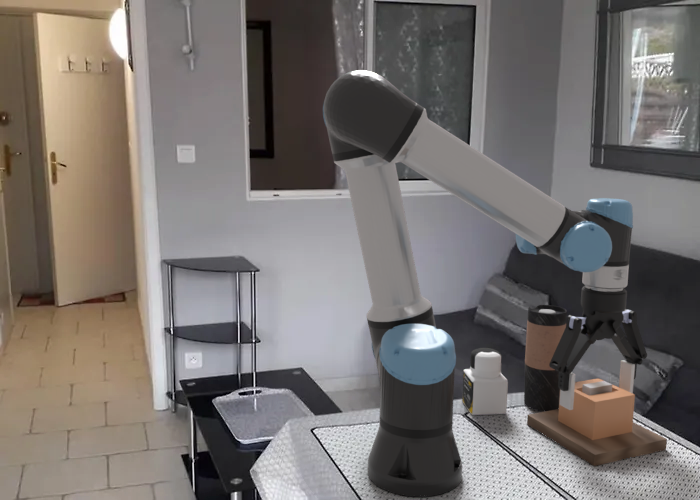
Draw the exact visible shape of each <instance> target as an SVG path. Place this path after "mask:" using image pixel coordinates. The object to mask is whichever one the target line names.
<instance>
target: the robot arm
mask: <svg viewBox="0 0 700 500" xmlns="http://www.w3.org/2000/svg"><path fill="white" fill-rule="evenodd" d="M322 116H323V121H324V124H325V125H324V126H325V127H326V130H327V135H328V139H329V145H330V149H331V154H332V158H333V163H334V164H336V165H337V166H338V167H340V168H341V169H342V170H343V171H344V173H345V177H346V182H347V186H348V187H347V188H348V191H349V197H350V201H351V205H352V206H351V207H352V211H353V214H354V215H353V216H354V219H355V220H354V221H355V225H356V230H357V234H358V239H359V244H360V248H361V253H362V259H363V264H364V268H365V273H366V277H367V283H368V288H369V292H370V298H371V303H372V305H371V307H370V308H369V310H368V312H367V313H366V320H367V324H368V325H367V326H368V329H369V334H370V340H371V349H372V353H373V357H374V359H375V363H376V367H377V372H378V376H379V427H378V430H377V432H376V435H375V438H374V440H373V444H372V447H371V449H370V453H369V455H368V458H367V459H368V460H367V474H368V478H369V479H370V481H371V482H373V484H374V485H376V486H377V487H378V488H381V489H382V490H385V491H387V492H390V493H392V494H397V495H401V496H406V497H421V498H423V497H433V496H438V495H443V494H446V493H448V492H450V491H453V490H454V489H456V487H457V486H459V485H460V483H461V482H462V479H463V476H462V475H463V462H462V459H461V456H460V452H459V449H458V446H457V445H458V444H457V442H456V439H455V438H456V437H455V435H454V431H453V425H454V423H453V422H454V421H453V420H454V394H455V368H456V365H457V364H456V363H457V354H456V349H455V348H456V347H455V346H456V345H455V342H454V339H453V338H452V336H451V335H450V334H449V333H447V332H446V331H445V330H443V329H441V328H437V325H436V320H435V315H434V310H433V306H432V305H433V304H432V302H431V301H430V300H429V299H427V298H426V297H425V296H423V295H422V294H421V289H420V285H419V284H420V283H419V279H418V273H417V267H416V263H415V257H414V254H413V253H414V252H413V247H412V243H411V238H410V233H409V232H410V231H409V226H408V221H407V217H406V212H405V208H404V201H403V196H402V192H401V186H400V180H399V176H398V171H397V165H396V164H397V163H402V164H403V165H405V166H406V167H407V168H409V169H411V170H412V171H414V172H416V173H418V174H419V175H421V176H423V178H425V179H427V180H428V181H430V182H433V183H434V184H435V185H437V186H439V187H440V188H441V189H443V190H445V191H446V192H447V193H450V194H451V195H452V196H455V197H456V198H458V199H459V200H461V201H462V202H464V203H466V204H467V205H469V206H471V207H473V208H474V209H476V210H477V211H478V212H480V213H481V214H484V215H485V216H487V217H489V218H490V219H491V220H493V221H495V222H497V223H498V224H500V225H501V226H502V227H505V228H506V229H508V230H509V231H511V232H512V233H514V234H515V241H516V243H515V244H516V247H517V249H518V251H520V253H522V254H529V255H531V254H532V255H536V256H537V255H547V256H548V257H550V258H552V259H554V260H556V261H558V262H559V263H561V264H563V265H564V266H565V267H567V268H569V269H570V270H573V271H576V272H580V273H582V278H581V279H582V280H581V281H582V284H583V285H584V286H582V288H581V293H580V294H581V297H580V305H581V308H582V315H581V316H574V315H572V314H569V315H567V321H566V328H565V330H564V333H563V335H562V337H561V339H560V341H559V344H558V346H557V348H556V350H555V352H554V355H553V357H552V359H551V361H550V364H549V366H550V368H552V369H554V370H557V371H558V372H559V378H558V388H559V389H560V404H559V405H561V406H563V407H565V408H567V409H568V410H573V403H574V388H575V382H576V373H574V372H573V370H574V369H576V366H577V365H578V364H579V362H580V361H581V359H582V358H583V357H584V355H585V353H586V352H587V350H588V349H589V347H591V345H593V344H595V343H596V341H602V340H605V339H608V340H610V339H611V340H612V342H613V343H614V345H615V346H616V348H617V349H618V350H619V352H620V353H621V355H622V357H623V358H624V359H625V360H624V359H623V360H620V366H619V379H618V387H619V388H621V389H623V390H626V391H628V392H630V393H632V394H634V393H633V392H634V382H635V380H636V378H637V368H638V367H637V366H641V365H642V364H643V362H644V361H643V360H646V359H647V357H648V352H647V350H646V347H645V344H644V341H643V338H642V334H641V331H640V329H639V326H638V322H637V321H638V313H637V312H636V311H634V310H631V309H627V297H628V291H627V290H626V289H625V288H626V287H627V286H628V284H629V283H628V282H629V281H628V280H629V271H630V270H629V267H630V253H631V244H632V232H633V229H634V225H633V223H634V221H633V220H634V218H633V217H634V211H633V205H632V202H630V201H629V200H626V199H621V198H611V197H610V198H609V197H599V198H595V197H594V198H590V199H589V200H588V201H587V203H586V207H585V209H581V210H571V208H570V209H569V208H568V207H566V206H565V205H564V204H562V203H560V202H559V201H558V200H556V199H554V198H553V197H551V196H549V195H548V194H546V193H545V192H543V191H542V190H541V189H538V188H537V187H536V186H534V185H532V184H531V183H529V182H528V181H526V180H525V179H523V178H521V177H520V176H518V175H517V174H515V173H514V172H512V171H511V170H509V169H507V168H506V167H504V166H503V165H501V164H500V163H499V162H496V161H495V160H493V158H490V157H488V156H487V155H486V154H484V153H483V152H481V151H479V150H477V149H476V148H475V147H473V146H472V145H470V144H468V143H467V142H465V141H463V140H462V139H460V137H457V136H456V135H454V134H453V133H451V132H449V131H448V130H446V129H445V128H443V127H441V126H440V125H439V124H437V123H435V122H434V121H432V120H430V118H428V113H427V108H425V107H423V106H422V105H420V104H418V103H417V102H416V101H414V100H413V99H411V98H410V97H409V96H407V95H406V94H404V93H403V92H402V91H401V90H400V89H398V88H397V87H396V86H395V85H394V84H392V83H391V82H390V81H389V80H388V79H386V78H384V77H383V76H382V75H380V74H378V73H376V72H374V71H370V70H365V69H358V70H352V71H348V72H347V73H344V74H342V75H341V76H339V77H337V79H335V80H334V82H333V83H332V84H331V85H330V87H329V88H328V90H327V91H326V94H325V98H324V101H323V104H322ZM621 325H622V327H623V329H622V327H621Z"/></svg>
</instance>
